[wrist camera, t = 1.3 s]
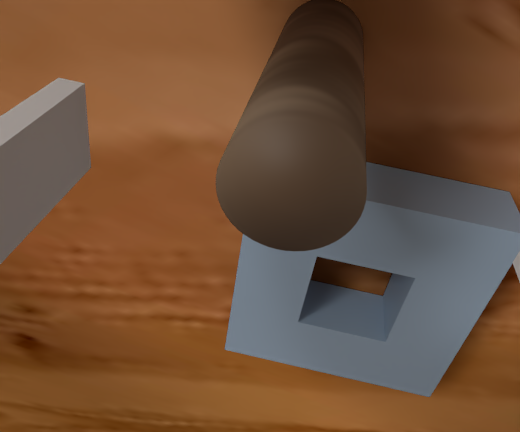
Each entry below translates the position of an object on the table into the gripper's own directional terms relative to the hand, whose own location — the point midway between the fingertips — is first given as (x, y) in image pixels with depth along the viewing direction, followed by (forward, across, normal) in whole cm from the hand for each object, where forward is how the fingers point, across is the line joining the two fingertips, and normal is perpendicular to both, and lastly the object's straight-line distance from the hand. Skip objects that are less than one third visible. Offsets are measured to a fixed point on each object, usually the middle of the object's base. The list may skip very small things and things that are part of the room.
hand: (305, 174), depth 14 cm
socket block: (+13, +4, -13) cm, 19 cm away
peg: (+13, 0, 0) cm, 13 cm away
